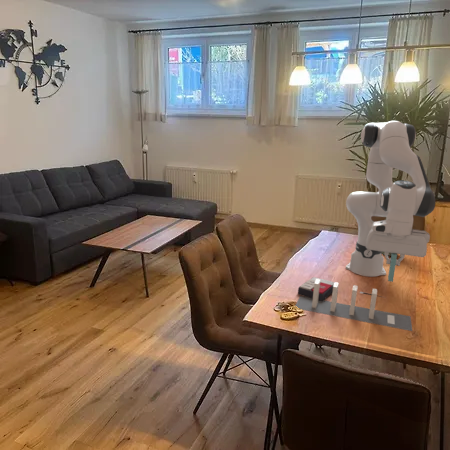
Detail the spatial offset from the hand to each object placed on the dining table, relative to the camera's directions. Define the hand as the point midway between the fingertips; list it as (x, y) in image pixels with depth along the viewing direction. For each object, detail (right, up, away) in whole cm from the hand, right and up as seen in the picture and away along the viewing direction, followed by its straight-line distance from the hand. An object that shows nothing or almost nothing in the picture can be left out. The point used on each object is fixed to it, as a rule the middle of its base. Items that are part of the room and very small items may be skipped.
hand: (392, 264), depth 152 cm
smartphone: (+2, -17, +22) cm, 28 cm away
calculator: (-22, -15, +25) cm, 36 cm away
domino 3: (-12, -19, +9) cm, 24 cm away
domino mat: (-12, -20, +9) cm, 25 cm away
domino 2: (-19, -18, +11) cm, 28 cm away
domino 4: (-6, -20, +6) cm, 22 cm away
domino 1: (-25, -17, +13) cm, 33 cm away
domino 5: (0, -5, +1) cm, 6 cm away
